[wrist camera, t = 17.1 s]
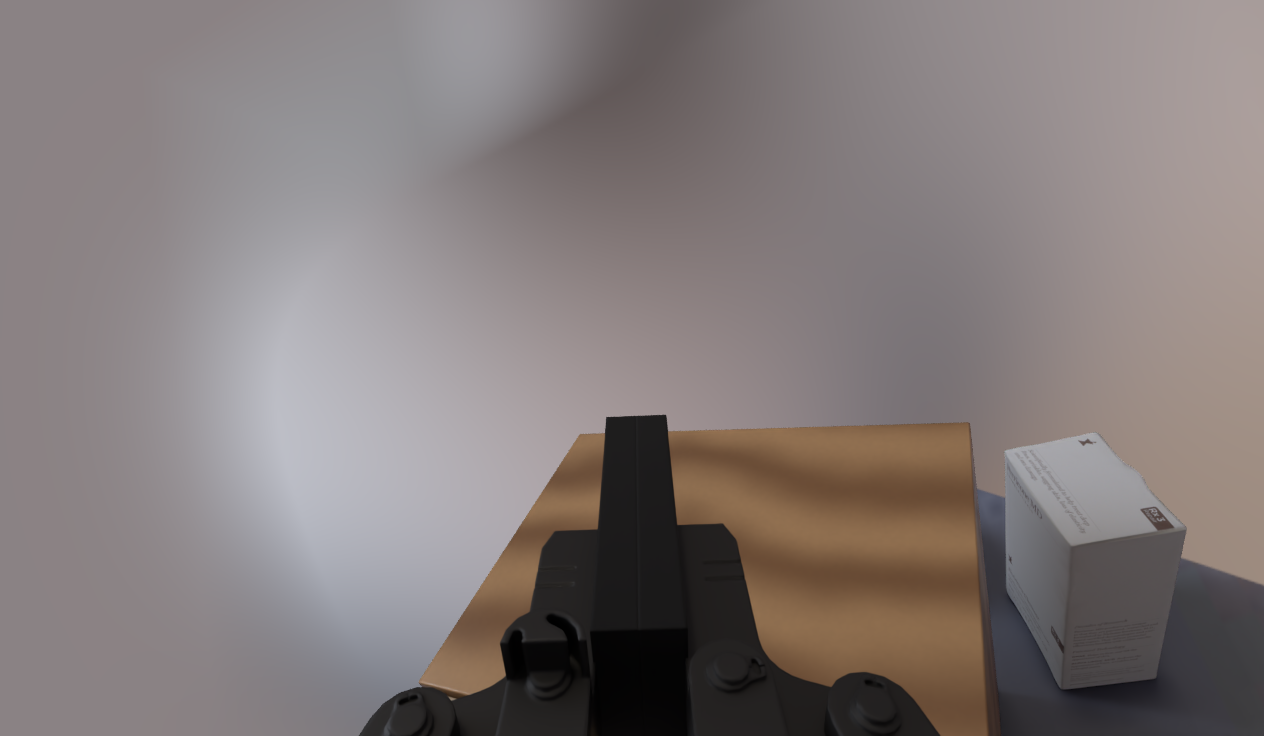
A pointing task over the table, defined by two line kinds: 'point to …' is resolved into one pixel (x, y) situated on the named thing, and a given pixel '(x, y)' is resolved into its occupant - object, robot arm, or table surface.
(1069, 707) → the table surface
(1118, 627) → the cosmetic box
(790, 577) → the cupboard
